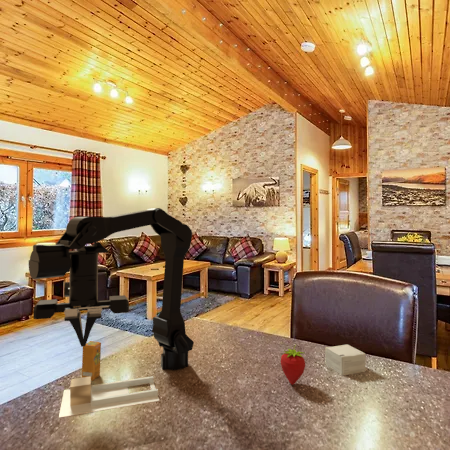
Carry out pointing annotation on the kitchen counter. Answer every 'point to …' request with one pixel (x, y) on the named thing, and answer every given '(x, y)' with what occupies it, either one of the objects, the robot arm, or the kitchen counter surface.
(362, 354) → the small box
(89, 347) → the supplement box
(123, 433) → the kitchen counter surface
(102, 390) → the trough
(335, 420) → the kitchen counter surface
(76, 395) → the wooden block
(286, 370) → the strawberry
